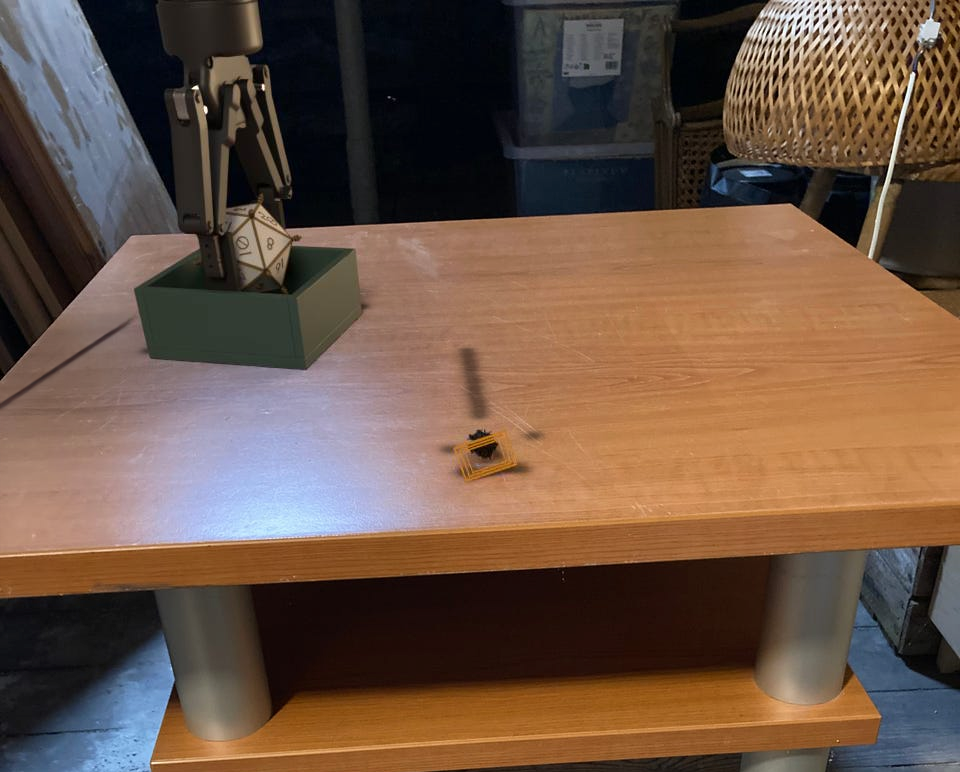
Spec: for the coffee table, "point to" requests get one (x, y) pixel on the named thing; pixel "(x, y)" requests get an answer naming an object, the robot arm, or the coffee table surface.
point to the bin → (252, 312)
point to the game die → (258, 247)
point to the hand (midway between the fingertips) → (253, 293)
